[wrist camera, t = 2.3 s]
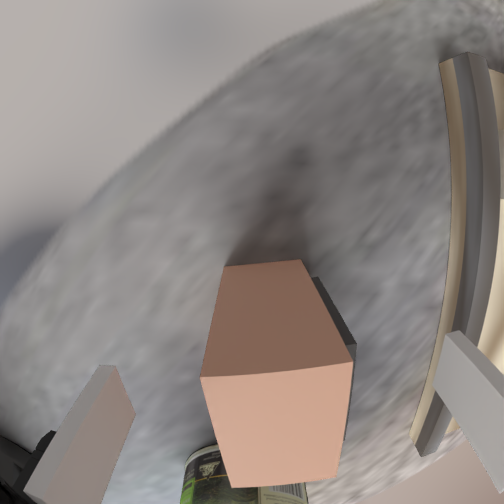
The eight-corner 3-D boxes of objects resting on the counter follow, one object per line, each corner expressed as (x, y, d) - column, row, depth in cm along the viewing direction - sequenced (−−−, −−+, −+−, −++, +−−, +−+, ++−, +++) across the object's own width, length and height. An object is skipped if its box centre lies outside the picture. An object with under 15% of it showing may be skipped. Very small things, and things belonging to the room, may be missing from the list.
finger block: (224, 266, 16) (200, 377, 7) (311, 258, 16) (374, 357, 7) (237, 360, 18) (231, 487, 9) (313, 352, 18) (350, 473, 9)
